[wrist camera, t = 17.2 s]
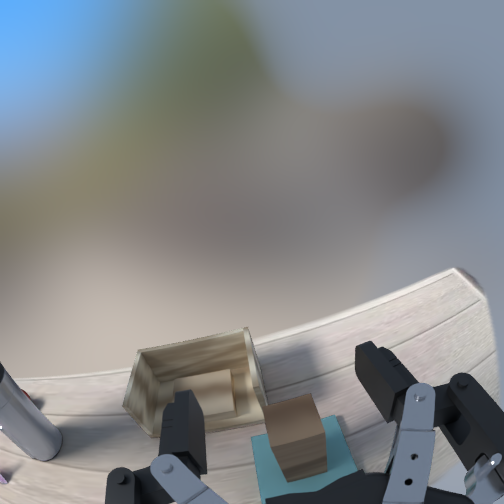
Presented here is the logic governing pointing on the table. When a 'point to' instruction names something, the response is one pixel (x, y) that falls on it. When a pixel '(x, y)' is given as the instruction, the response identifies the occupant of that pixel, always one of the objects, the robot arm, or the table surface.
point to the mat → (277, 485)
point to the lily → (2, 480)
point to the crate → (199, 381)
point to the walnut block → (296, 437)
